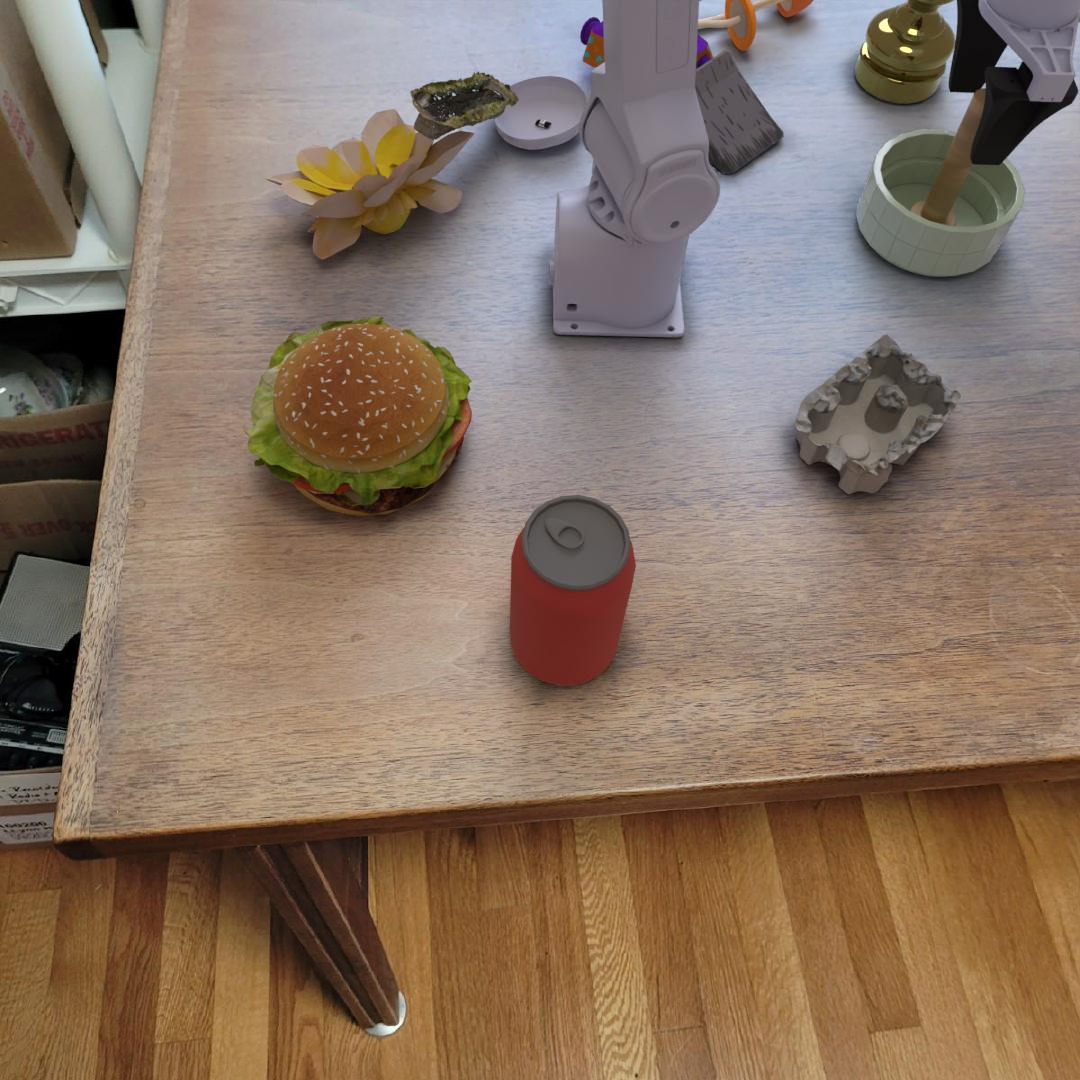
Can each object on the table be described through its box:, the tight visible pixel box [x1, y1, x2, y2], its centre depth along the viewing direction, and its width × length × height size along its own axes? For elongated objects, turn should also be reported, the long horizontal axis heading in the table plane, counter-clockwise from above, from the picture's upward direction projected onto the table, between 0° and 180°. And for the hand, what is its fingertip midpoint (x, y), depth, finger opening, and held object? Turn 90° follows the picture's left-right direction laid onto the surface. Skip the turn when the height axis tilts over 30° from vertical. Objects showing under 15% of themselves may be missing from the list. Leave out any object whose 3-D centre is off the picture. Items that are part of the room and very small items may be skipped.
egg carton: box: [793, 333, 961, 495], centre depth 70 cm, size 11×8×4 cm
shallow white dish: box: [493, 75, 588, 151], centre depth 86 cm, size 8×8×2 cm
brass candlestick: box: [854, 0, 956, 105], centre depth 87 cm, size 7×7×10 cm
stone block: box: [409, 70, 519, 141], centre depth 79 cm, size 14×4×5 cm
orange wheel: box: [698, 0, 815, 52], centre depth 92 cm, size 7×8×15 cm
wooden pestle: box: [910, 87, 986, 226], centre depth 77 cm, size 4×4×11 cm
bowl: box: [855, 128, 1026, 278], centre depth 80 cm, size 11×11×5 cm
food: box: [243, 315, 473, 517], centre depth 67 cm, size 14×14×8 cm
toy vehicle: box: [579, 16, 785, 175], centre depth 84 cm, size 9×21×15 cm, turn 42°
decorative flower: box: [264, 108, 476, 260], centre depth 77 cm, size 15×11×10 cm
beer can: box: [509, 494, 637, 687], centre depth 58 cm, size 7×7×12 cm
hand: (973, 124), depth 74 cm, fingers open, 7 cm apart
